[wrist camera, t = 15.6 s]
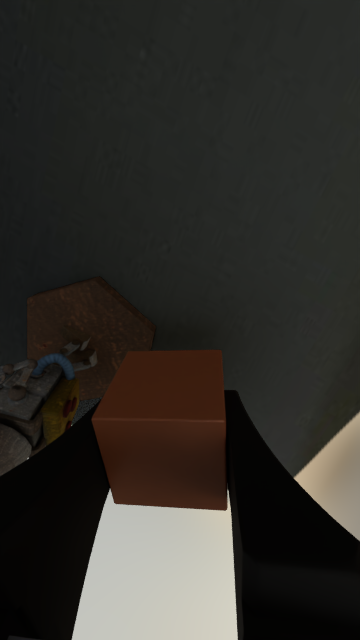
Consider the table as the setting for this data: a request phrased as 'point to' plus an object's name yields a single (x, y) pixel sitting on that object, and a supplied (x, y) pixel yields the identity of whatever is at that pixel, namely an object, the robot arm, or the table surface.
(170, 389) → the block
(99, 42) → the table surface
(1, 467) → the robot figurine
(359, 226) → the table surface
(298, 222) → the table surface
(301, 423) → the table surface
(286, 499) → the robot arm
